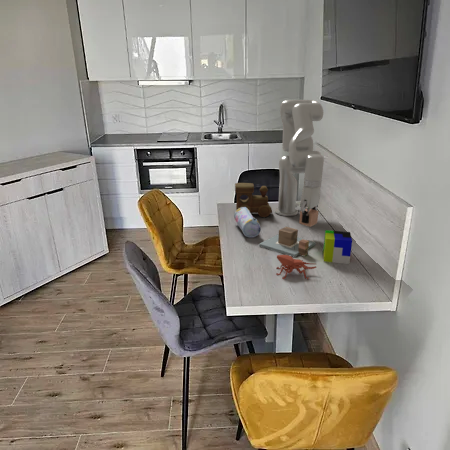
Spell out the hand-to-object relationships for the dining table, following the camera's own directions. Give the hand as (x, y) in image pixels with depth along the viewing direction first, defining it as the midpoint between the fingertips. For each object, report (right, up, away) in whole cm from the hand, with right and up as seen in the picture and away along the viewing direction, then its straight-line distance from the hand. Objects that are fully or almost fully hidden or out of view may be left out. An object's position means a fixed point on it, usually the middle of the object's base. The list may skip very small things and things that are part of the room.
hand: (308, 220), depth 183 cm
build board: (-11, -11, -6) cm, 16 cm away
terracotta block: (0, -1, +1) cm, 1 cm away
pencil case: (-28, -5, +11) cm, 31 cm away
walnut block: (-11, -10, -6) cm, 16 cm away
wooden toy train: (-23, +3, +35) cm, 42 cm away
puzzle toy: (+8, -16, -17) cm, 25 cm away
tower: (-5, -14, -15) cm, 21 cm away
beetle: (-11, -21, -31) cm, 39 cm away
